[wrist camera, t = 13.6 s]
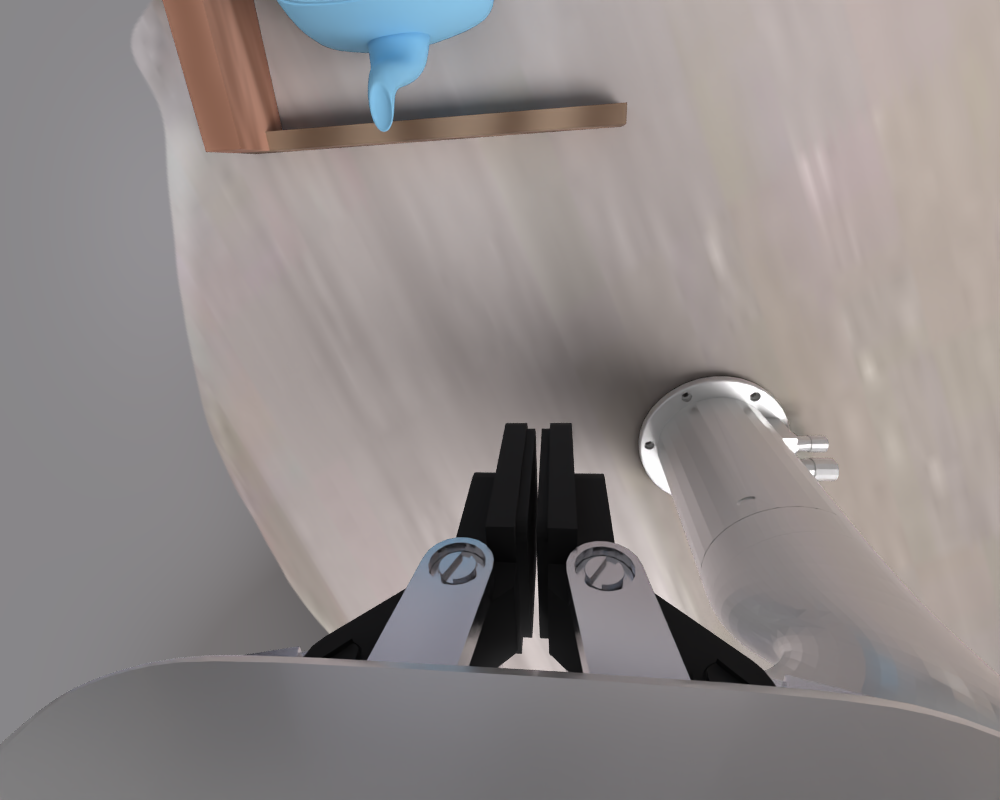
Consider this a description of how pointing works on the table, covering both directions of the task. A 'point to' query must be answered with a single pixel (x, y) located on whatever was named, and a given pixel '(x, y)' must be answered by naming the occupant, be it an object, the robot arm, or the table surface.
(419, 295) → the table surface
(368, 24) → the teapot
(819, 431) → the table surface
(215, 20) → the guide track
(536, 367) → the table surface
